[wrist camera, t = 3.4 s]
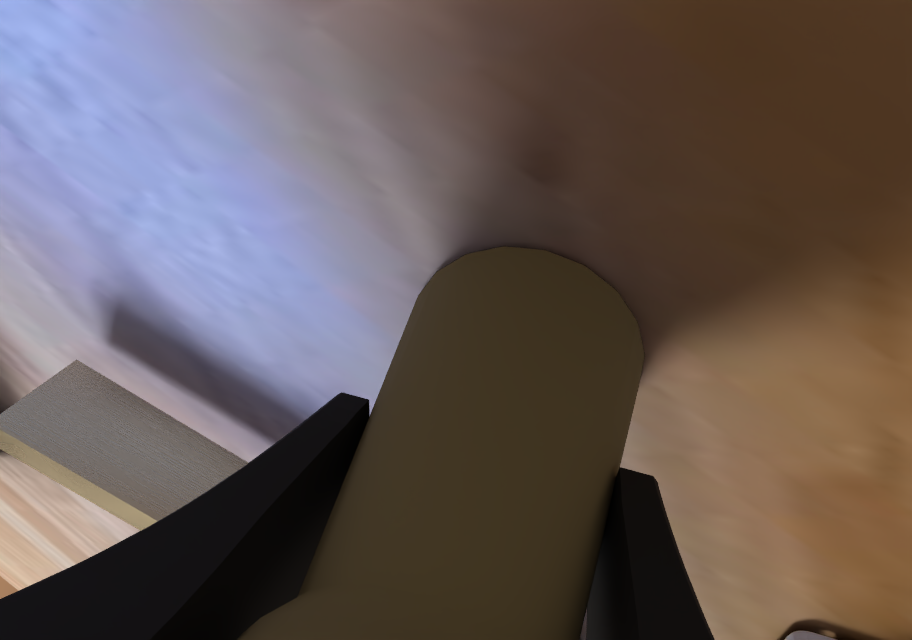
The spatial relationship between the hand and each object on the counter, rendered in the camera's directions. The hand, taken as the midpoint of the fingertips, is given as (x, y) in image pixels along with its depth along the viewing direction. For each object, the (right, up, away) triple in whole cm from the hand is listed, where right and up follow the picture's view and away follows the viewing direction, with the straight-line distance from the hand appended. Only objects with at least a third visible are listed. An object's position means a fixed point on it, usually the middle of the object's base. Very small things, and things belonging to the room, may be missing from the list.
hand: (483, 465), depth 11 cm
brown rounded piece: (+1, +2, +3) cm, 4 cm away
